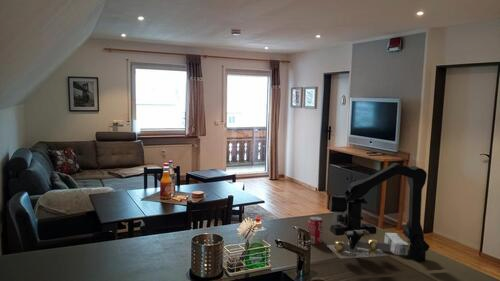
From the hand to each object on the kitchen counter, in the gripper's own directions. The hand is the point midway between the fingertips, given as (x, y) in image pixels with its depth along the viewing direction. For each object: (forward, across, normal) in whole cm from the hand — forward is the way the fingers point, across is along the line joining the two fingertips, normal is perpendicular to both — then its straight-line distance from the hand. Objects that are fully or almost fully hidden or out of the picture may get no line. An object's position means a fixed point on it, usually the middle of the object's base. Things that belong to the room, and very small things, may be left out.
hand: (352, 248), depth 155 cm
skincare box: (+4, -14, -38) cm, 41 cm away
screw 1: (+2, +1, -4) cm, 4 cm away
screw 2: (+2, -15, -4) cm, 15 cm away
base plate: (+4, -5, -4) cm, 7 cm away
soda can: (+4, +10, -17) cm, 20 cm away
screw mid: (+2, -7, -6) cm, 10 cm away
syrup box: (+1, -25, -12) cm, 28 cm away
